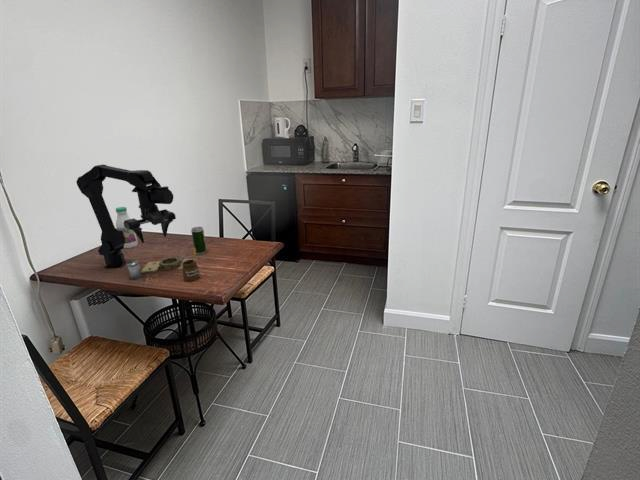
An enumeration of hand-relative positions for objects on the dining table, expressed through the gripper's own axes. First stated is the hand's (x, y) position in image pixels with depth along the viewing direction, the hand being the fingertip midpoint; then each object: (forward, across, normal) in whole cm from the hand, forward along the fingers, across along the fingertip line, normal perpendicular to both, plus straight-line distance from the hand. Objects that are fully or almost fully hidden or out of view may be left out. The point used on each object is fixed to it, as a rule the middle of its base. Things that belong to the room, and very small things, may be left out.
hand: (154, 239), depth 142 cm
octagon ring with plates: (+13, +4, -2) cm, 14 cm away
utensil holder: (+13, +3, -20) cm, 24 cm away
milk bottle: (+14, +4, +39) cm, 42 cm away
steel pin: (+13, -10, -1) cm, 17 cm away
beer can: (+13, +21, +1) cm, 25 cm away
